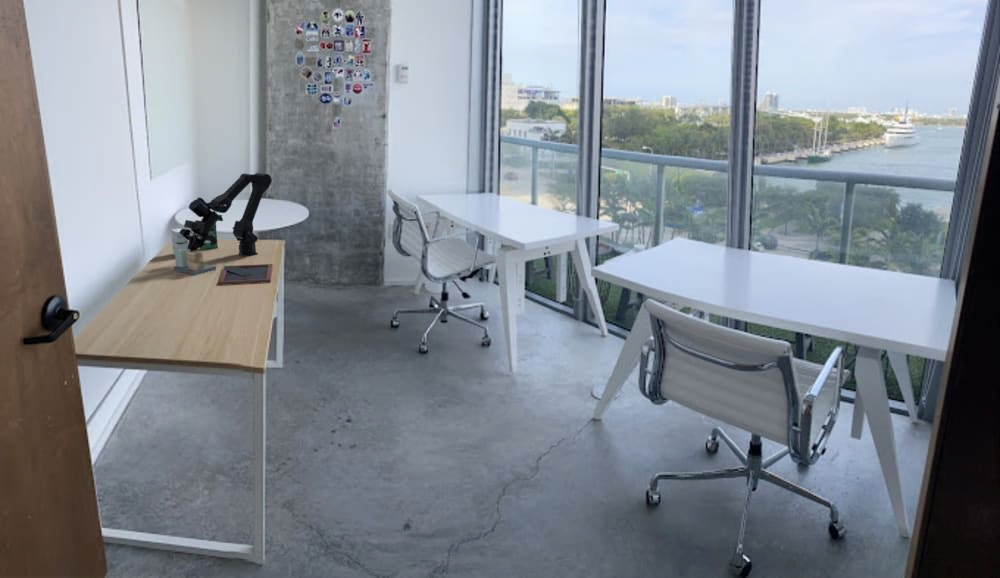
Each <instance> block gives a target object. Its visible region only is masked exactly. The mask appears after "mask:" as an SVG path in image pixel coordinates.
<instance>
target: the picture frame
mask: <svg viewBox="0 0 1000 578" xmlns="http://www.w3.org/2000/svg"><path fill="white" fill-rule="evenodd" d="M273 267H274V265H273V263H261V264H244V265H243V264H240V265H224V266H223V268H222V271H221V274H220V277H219V279H218V286H222V285H221V284H232V285H243V284H242V283H250V284H262V283H261V282H268V283H271V282H272V275H273V274H272V273H273ZM258 282H259V283H258Z"/></svg>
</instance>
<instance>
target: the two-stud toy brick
mask: <svg viewBox="0 0 1000 578" xmlns="http://www.w3.org/2000/svg"><path fill="white" fill-rule="evenodd" d="M174 252H175V255H174V259H175V266H178V267H187V257H186V253H187V252H191V251H190V249H186V248H181V249H177V250H174Z"/></svg>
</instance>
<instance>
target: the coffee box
mask: <svg viewBox="0 0 1000 578" xmlns="http://www.w3.org/2000/svg"><path fill="white" fill-rule="evenodd" d="M212 229H214V231H213V232H212V231H210V234H212V235H213V236H214V237H215V238H216V239H217V240H218V235H217V234H218V231H217V223H216V224H215V225H214V227H213V228H212ZM205 244H206V245H204V246H202V247H200V248H199V249H201V250H210V249H209V248H212V249H213V248H214V249H218V248H219V247H218V243H217V244H216V245H215V246H214V245H211V244H210V241H206V243H205Z"/></svg>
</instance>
